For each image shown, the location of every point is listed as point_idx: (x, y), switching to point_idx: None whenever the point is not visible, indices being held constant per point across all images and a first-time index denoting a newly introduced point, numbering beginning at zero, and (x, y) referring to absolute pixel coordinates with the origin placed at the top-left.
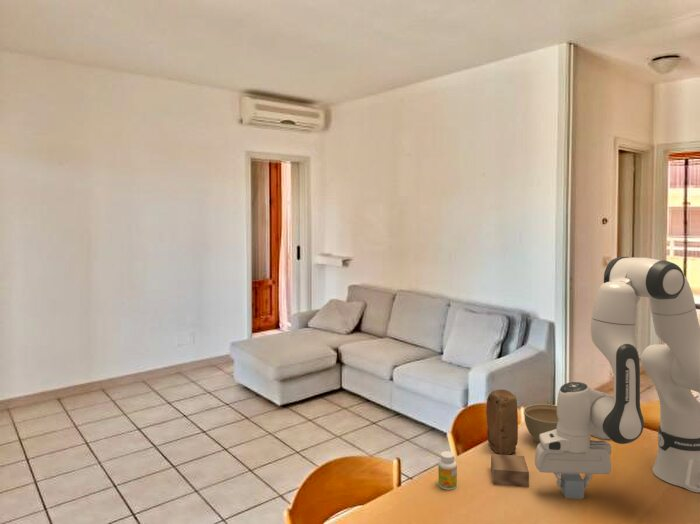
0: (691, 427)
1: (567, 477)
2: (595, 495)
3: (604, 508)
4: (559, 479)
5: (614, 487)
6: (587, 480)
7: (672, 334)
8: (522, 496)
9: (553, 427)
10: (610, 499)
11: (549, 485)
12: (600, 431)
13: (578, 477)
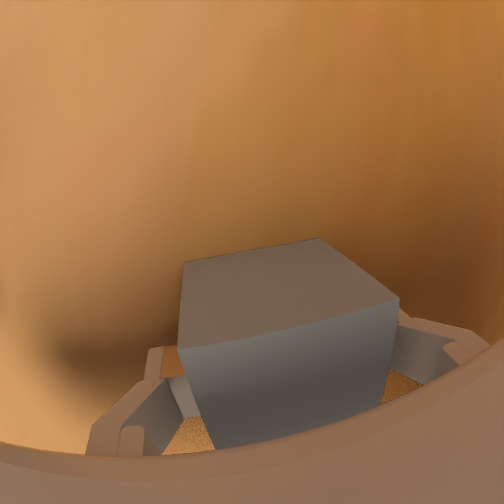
0: None
1: (248, 427)
2: (396, 289)
3: None
4: (168, 437)
5: (489, 178)
6: (410, 372)
7: None
8: (7, 383)
9: None
10: (440, 304)
11: (103, 234)
12: None
13: (359, 391)
